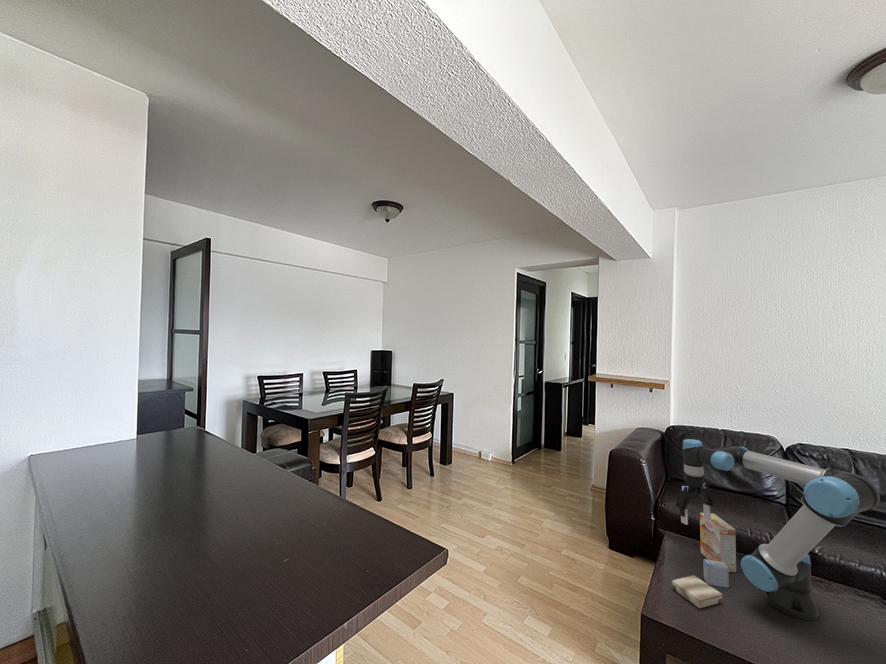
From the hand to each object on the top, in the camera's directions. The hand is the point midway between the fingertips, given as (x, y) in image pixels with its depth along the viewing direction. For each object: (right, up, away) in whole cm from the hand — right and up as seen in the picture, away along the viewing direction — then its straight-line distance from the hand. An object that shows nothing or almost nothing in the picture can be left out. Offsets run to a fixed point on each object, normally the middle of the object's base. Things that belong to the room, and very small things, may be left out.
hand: (696, 521), depth 163 cm
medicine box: (+2, -22, -9) cm, 24 cm away
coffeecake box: (+14, -23, +6) cm, 27 cm away
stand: (-12, -22, -18) cm, 30 cm away
